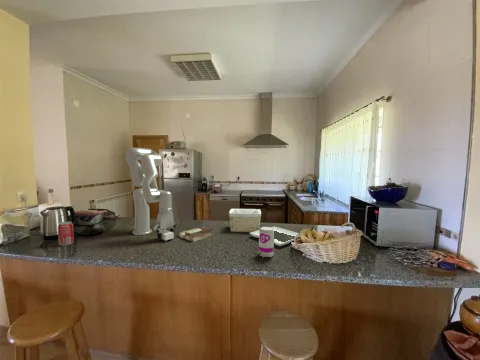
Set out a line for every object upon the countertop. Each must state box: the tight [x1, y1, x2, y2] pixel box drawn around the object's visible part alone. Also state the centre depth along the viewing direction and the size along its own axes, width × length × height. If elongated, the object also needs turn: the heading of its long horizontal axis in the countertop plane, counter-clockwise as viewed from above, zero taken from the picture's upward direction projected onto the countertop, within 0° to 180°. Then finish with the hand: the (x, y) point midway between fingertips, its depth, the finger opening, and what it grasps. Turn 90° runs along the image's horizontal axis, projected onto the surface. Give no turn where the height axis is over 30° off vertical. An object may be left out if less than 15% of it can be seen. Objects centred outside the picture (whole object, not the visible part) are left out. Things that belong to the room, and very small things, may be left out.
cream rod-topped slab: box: [157, 228, 175, 243], centre depth 145 cm, size 10×6×6 cm, turn 52°
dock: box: [177, 226, 213, 243], centre depth 153 cm, size 16×16×6 cm
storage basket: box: [228, 208, 262, 233], centre depth 170 cm, size 24×16×15 cm
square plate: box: [249, 226, 300, 247], centre depth 151 cm, size 27×27×4 cm
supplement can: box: [258, 226, 275, 258], centre depth 123 cm, size 8×8×15 cm
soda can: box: [57, 221, 75, 247], centre depth 133 cm, size 7×7×13 cm
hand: (165, 237), depth 145 cm, fingers open, 8 cm apart
